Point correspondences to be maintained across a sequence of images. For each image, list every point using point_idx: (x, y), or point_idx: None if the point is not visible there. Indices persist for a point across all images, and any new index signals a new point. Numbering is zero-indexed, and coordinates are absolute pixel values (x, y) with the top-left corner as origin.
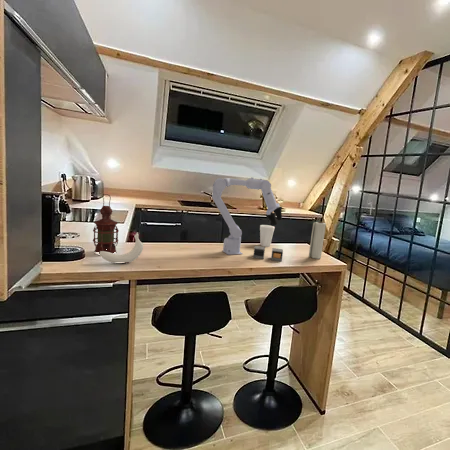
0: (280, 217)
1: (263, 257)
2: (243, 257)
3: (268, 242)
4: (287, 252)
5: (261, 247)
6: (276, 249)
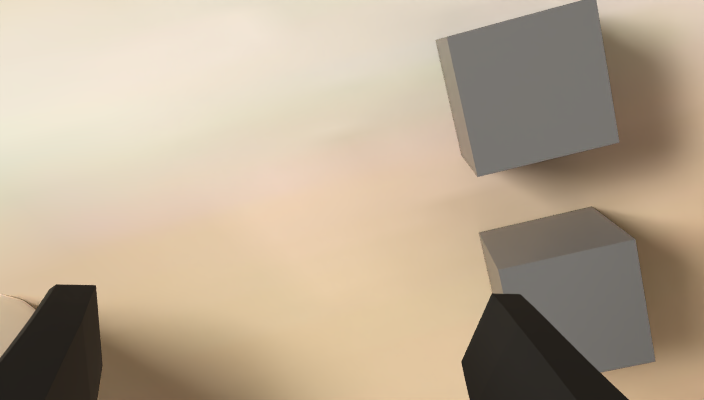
0: (79, 364)
1: (597, 213)
2: (660, 388)
3: (5, 327)
4: (99, 46)
5: (551, 300)
6: (520, 109)
